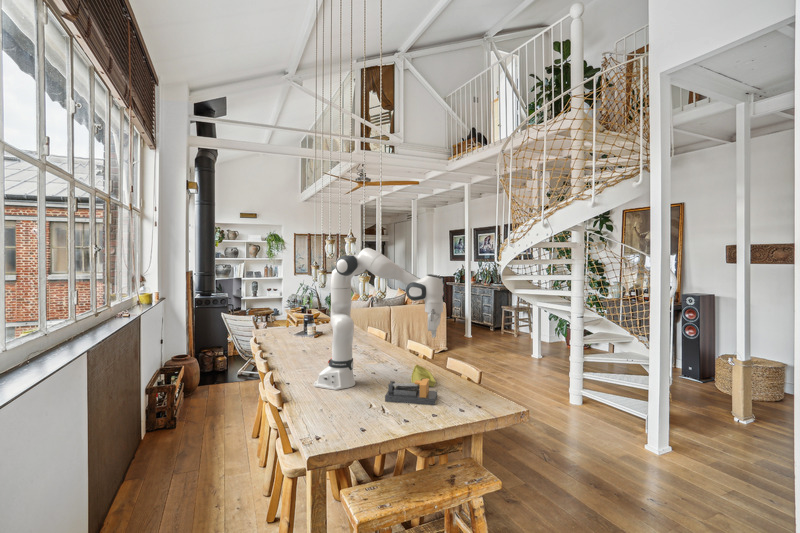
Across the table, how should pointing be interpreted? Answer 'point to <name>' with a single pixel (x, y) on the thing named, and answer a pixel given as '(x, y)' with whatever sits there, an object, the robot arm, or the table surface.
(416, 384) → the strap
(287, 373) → the table surface
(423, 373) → the plastic component
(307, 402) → the table surface
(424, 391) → the clip
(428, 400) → the heatsink
